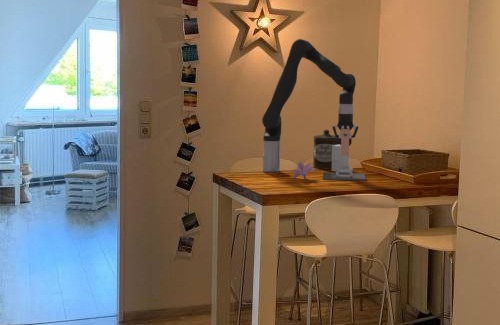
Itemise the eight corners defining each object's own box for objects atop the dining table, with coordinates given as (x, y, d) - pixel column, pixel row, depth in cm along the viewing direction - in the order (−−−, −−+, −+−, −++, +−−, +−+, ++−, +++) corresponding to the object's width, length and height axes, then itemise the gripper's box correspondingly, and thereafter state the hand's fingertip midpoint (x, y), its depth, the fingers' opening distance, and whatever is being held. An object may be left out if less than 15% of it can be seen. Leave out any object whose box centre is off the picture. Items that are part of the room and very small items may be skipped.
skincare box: (341, 169, 351) (341, 143, 349) (349, 171, 347) (349, 144, 345) (330, 171, 346) (331, 144, 344) (338, 172, 342) (339, 145, 339)
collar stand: (322, 179, 319) (323, 170, 318) (323, 174, 335) (323, 165, 334) (366, 180, 316) (366, 171, 316) (364, 175, 332) (364, 166, 331)
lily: (318, 180, 322) (313, 163, 325) (315, 175, 311) (310, 158, 314) (296, 187, 324) (291, 170, 327) (292, 182, 313) (287, 164, 316)
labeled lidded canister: (312, 168, 354) (313, 130, 351) (314, 164, 369) (314, 128, 365) (338, 169, 352) (339, 131, 349) (339, 165, 366) (339, 128, 363)
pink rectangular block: (340, 154, 327) (341, 128, 325) (348, 154, 326) (349, 128, 324) (340, 156, 321) (341, 129, 319) (348, 156, 320) (349, 129, 318)
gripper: (359, 112, 323) (358, 144, 326) (331, 112, 325) (331, 144, 328) (359, 113, 316) (358, 146, 318) (331, 113, 318) (331, 146, 320)
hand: (344, 145), depth 323 cm, fingers closed on pink rectangular block, 4 cm apart
